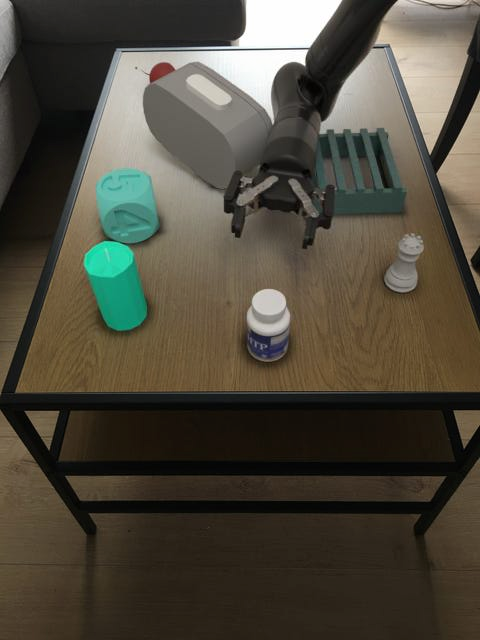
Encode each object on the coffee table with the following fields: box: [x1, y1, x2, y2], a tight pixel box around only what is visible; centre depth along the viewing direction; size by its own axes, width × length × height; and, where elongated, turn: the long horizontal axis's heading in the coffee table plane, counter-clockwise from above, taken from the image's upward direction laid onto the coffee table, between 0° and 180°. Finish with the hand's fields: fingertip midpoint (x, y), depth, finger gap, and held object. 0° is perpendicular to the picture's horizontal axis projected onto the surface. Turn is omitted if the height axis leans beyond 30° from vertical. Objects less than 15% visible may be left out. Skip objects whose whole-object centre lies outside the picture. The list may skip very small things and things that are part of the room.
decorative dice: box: [95, 167, 160, 244], centre depth 81 cm, size 8×8×8 cm
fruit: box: [134, 61, 176, 84], centre depth 107 cm, size 6×6×8 cm
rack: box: [311, 127, 408, 215], centre depth 87 cm, size 14×16×5 cm
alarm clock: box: [142, 61, 273, 190], centre depth 87 cm, size 21×10×13 cm, turn 48°
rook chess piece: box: [383, 233, 425, 294], centre depth 72 cm, size 4×4×8 cm
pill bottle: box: [246, 288, 291, 363], centre depth 65 cm, size 5×5×9 cm
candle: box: [83, 240, 148, 332], centre depth 68 cm, size 6×6×12 cm
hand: (271, 239), depth 67 cm, fingers open, 8 cm apart
